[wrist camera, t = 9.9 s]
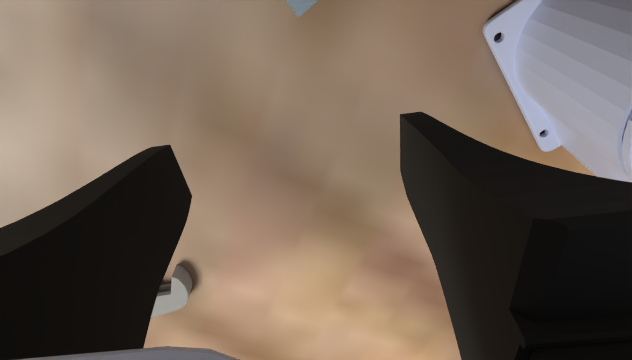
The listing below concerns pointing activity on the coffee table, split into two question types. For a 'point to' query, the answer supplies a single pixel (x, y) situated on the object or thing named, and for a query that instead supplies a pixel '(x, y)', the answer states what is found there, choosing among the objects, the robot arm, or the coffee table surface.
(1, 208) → the coffee table surface
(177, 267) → the adjustable wrench
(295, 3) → the bin
